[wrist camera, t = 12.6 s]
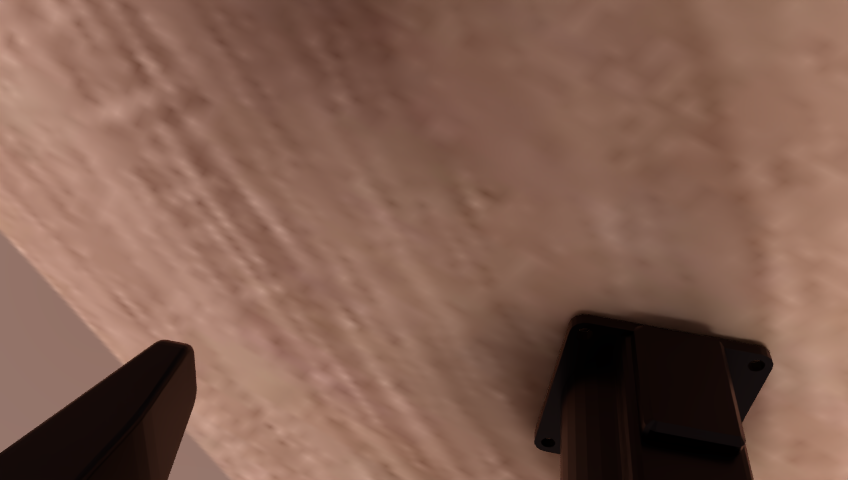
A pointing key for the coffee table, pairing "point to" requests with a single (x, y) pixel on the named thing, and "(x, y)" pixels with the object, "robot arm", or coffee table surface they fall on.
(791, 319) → the coffee table surface
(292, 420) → the coffee table surface
